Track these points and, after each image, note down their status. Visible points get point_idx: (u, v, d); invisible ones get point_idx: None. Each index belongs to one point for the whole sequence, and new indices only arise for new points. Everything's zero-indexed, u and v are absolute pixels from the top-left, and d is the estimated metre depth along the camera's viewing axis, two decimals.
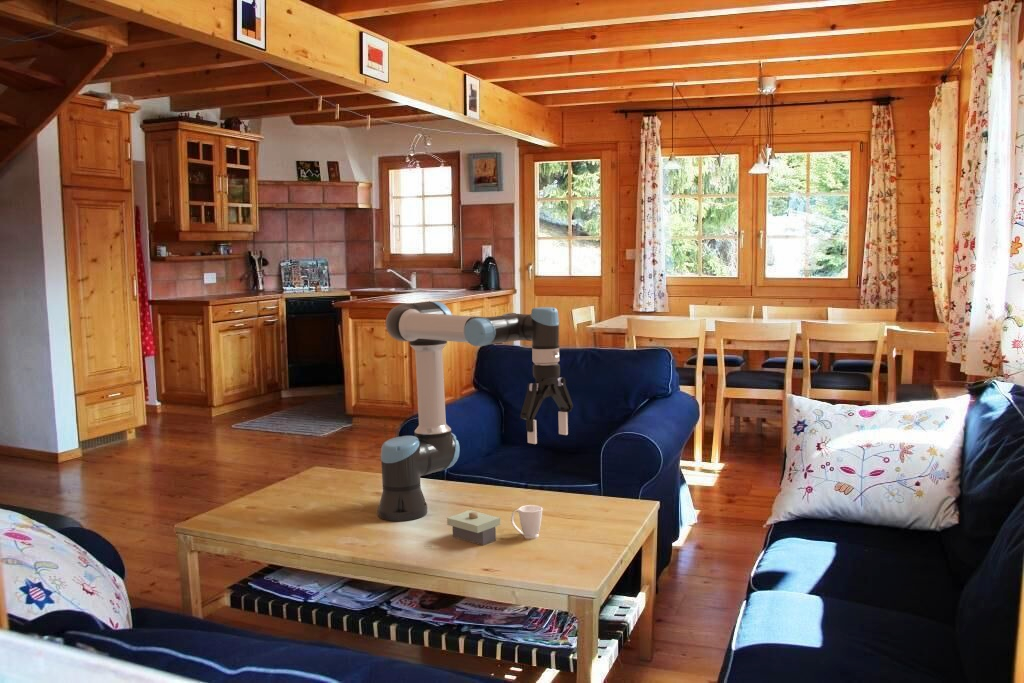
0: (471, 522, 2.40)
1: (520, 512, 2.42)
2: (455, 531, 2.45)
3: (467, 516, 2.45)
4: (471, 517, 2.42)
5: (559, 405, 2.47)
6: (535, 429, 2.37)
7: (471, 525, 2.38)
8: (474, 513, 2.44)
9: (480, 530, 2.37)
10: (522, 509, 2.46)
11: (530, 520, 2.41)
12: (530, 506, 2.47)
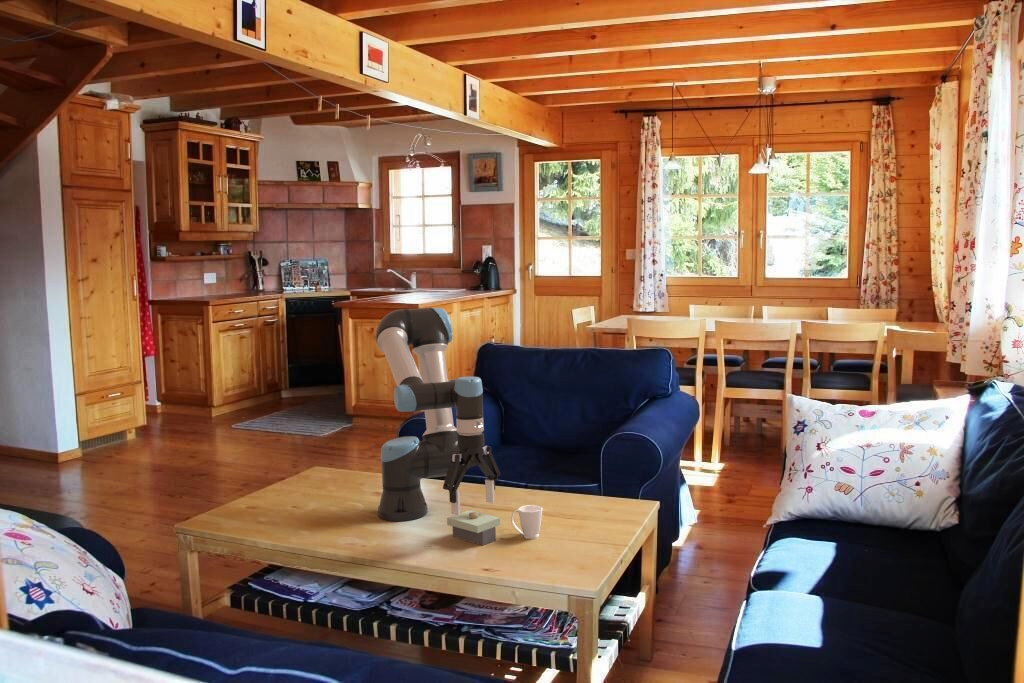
0: (471, 522, 2.40)
1: (520, 512, 2.42)
2: (455, 531, 2.45)
3: (467, 516, 2.45)
4: (471, 517, 2.42)
5: (485, 473, 2.47)
6: (458, 500, 2.36)
7: (471, 525, 2.38)
8: (474, 513, 2.44)
9: (480, 530, 2.37)
10: (522, 509, 2.46)
11: (530, 520, 2.41)
12: (530, 506, 2.47)
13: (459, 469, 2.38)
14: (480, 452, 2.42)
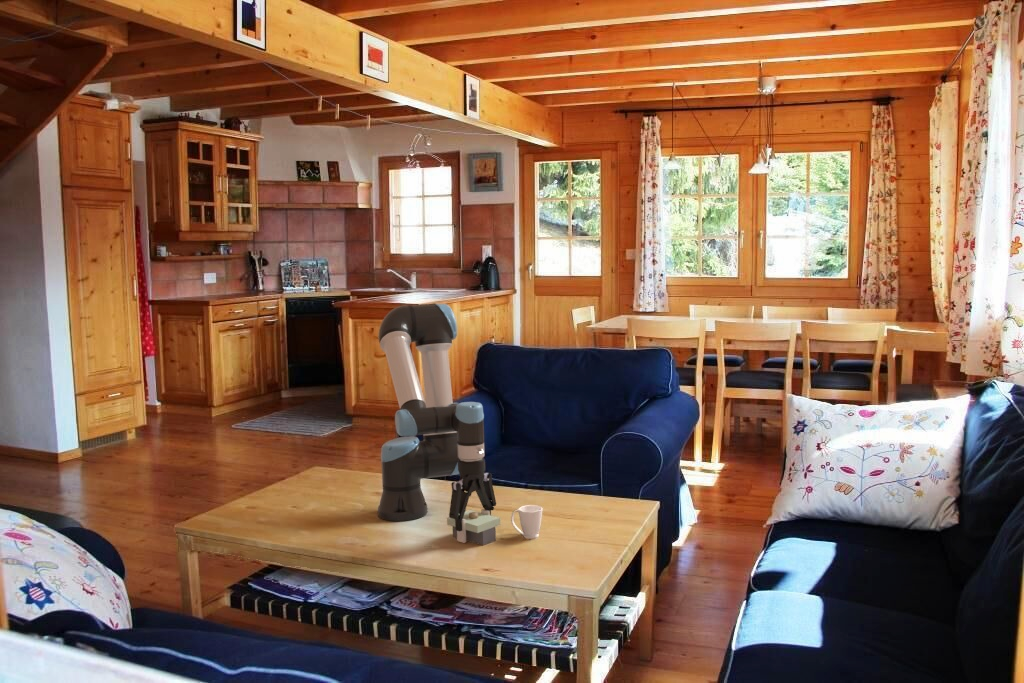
0: (471, 522, 2.40)
1: (520, 512, 2.42)
2: (455, 531, 2.45)
3: (467, 516, 2.45)
4: (471, 517, 2.42)
5: (482, 502, 2.46)
6: (464, 528, 2.39)
7: (471, 525, 2.38)
8: (474, 513, 2.44)
9: (480, 530, 2.37)
10: (522, 509, 2.46)
11: (530, 520, 2.41)
12: (530, 506, 2.47)
13: (462, 496, 2.40)
14: (481, 477, 2.43)
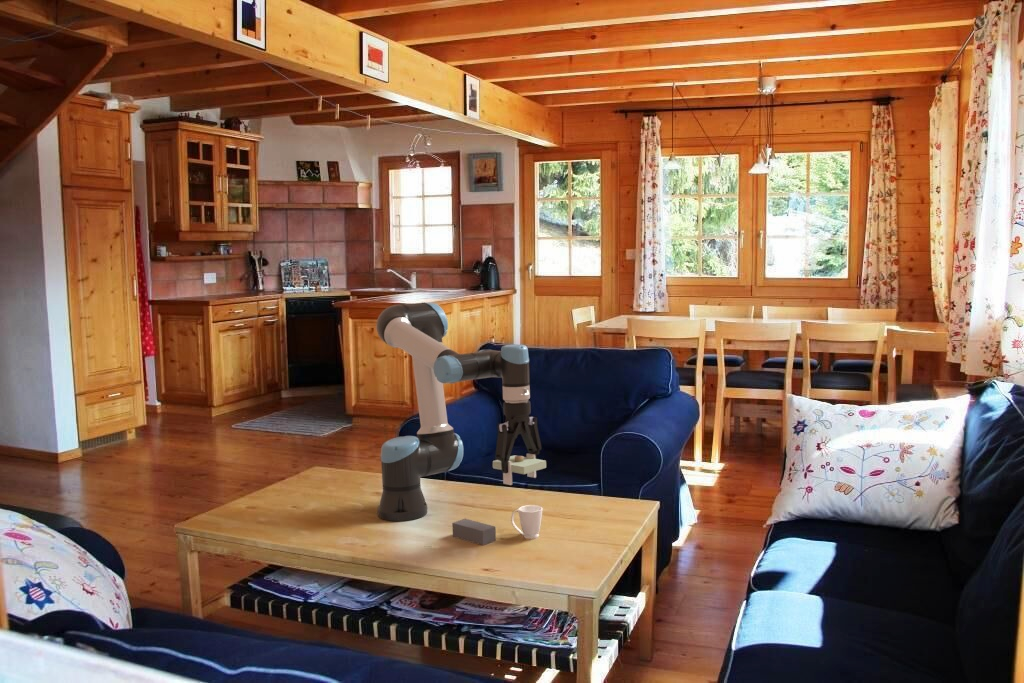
0: (517, 464, 2.39)
1: (520, 512, 2.42)
2: (455, 531, 2.45)
3: (513, 460, 2.44)
4: (517, 460, 2.41)
5: (528, 446, 2.45)
6: (510, 470, 2.38)
7: (517, 467, 2.37)
8: (520, 456, 2.43)
9: (526, 471, 2.36)
10: (522, 509, 2.46)
11: (530, 520, 2.41)
12: (530, 506, 2.47)
13: (508, 438, 2.39)
14: (526, 419, 2.42)
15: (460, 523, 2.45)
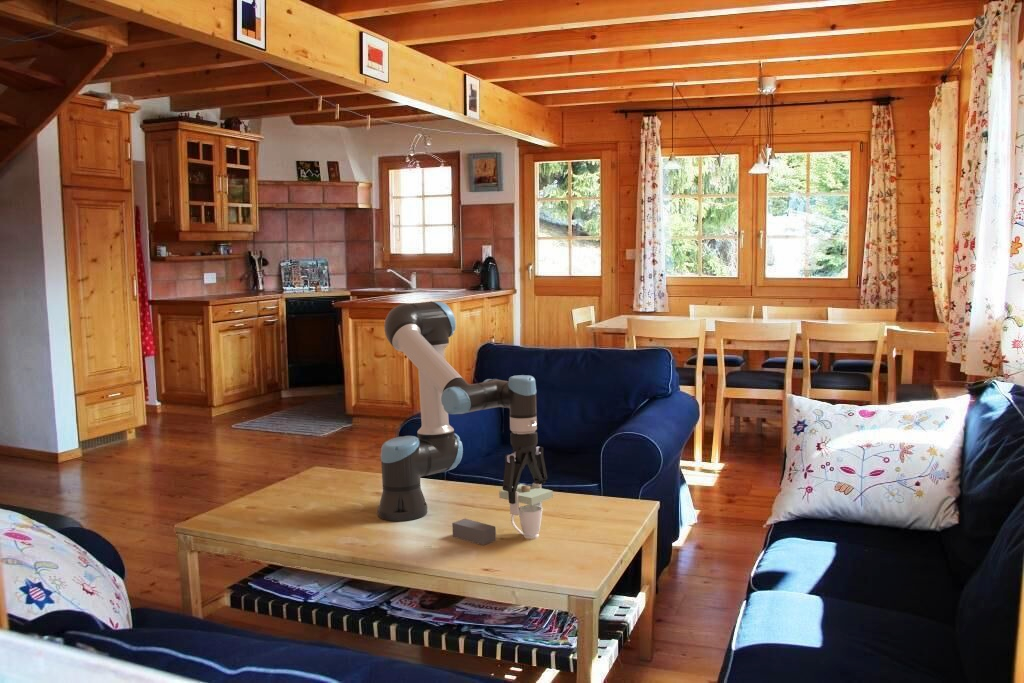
0: (525, 494, 2.40)
1: (520, 512, 2.42)
2: (455, 531, 2.45)
3: (519, 489, 2.45)
4: (524, 490, 2.43)
5: (534, 475, 2.47)
6: (517, 501, 2.40)
7: (525, 498, 2.38)
8: (526, 486, 2.44)
9: (534, 502, 2.38)
10: (522, 509, 2.46)
11: (530, 520, 2.41)
12: (530, 506, 2.47)
13: (515, 469, 2.41)
14: (533, 450, 2.44)
15: (460, 523, 2.45)
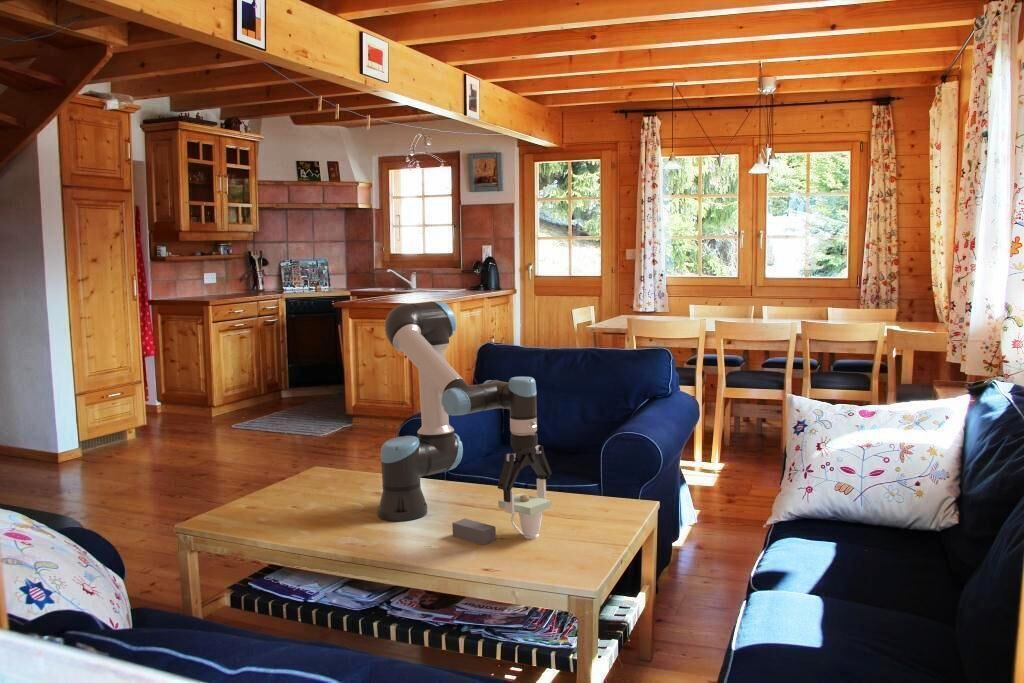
0: (523, 504, 2.41)
1: None
2: (455, 531, 2.45)
3: (518, 499, 2.46)
4: (523, 500, 2.43)
5: (537, 472, 2.48)
6: (512, 499, 2.38)
7: (523, 508, 2.39)
8: (525, 495, 2.45)
9: (533, 512, 2.38)
10: None
11: (530, 520, 2.41)
12: None
13: (513, 468, 2.40)
14: (533, 451, 2.44)
15: (460, 523, 2.45)
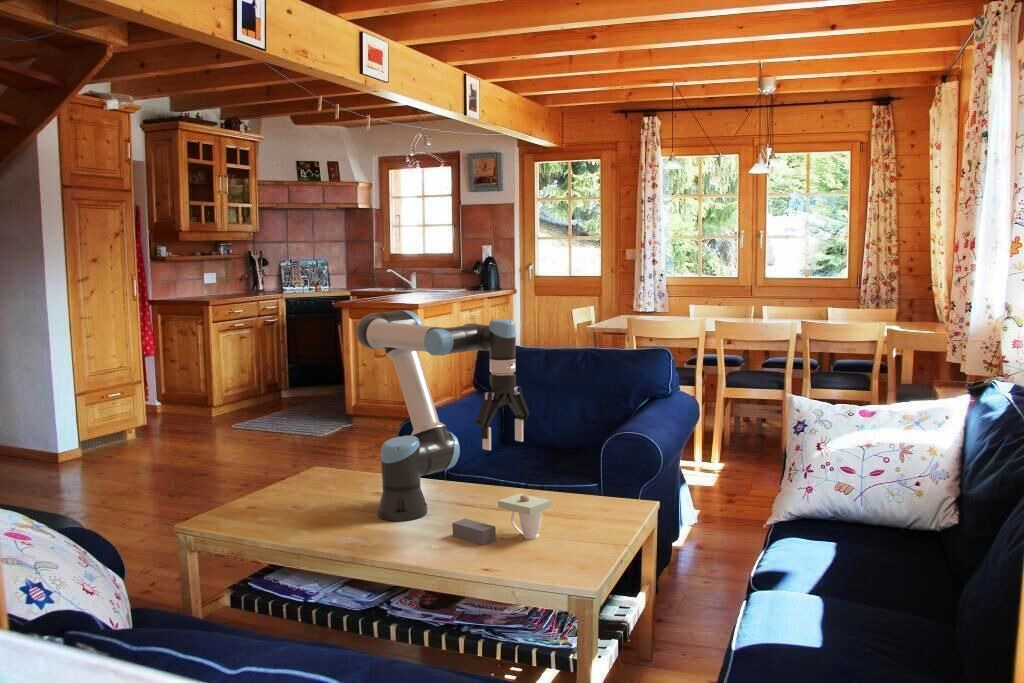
0: (523, 504, 2.41)
1: None
2: (455, 531, 2.45)
3: (518, 499, 2.46)
4: (522, 500, 2.43)
5: (515, 413, 2.57)
6: (489, 436, 2.47)
7: (523, 508, 2.39)
8: (525, 495, 2.45)
9: (532, 512, 2.38)
10: None
11: (530, 520, 2.41)
12: None
13: (491, 407, 2.49)
14: (511, 392, 2.53)
15: (460, 523, 2.45)
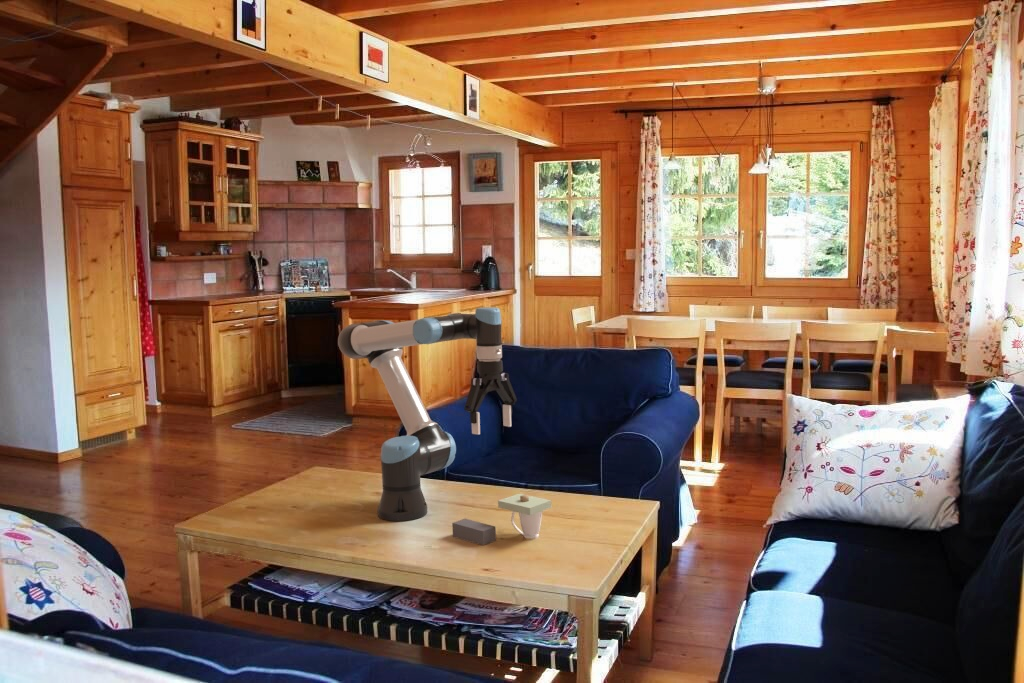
0: (523, 504, 2.41)
1: None
2: (455, 531, 2.45)
3: (518, 499, 2.46)
4: (522, 500, 2.43)
5: (503, 399, 2.64)
6: (478, 421, 2.54)
7: (523, 508, 2.39)
8: (525, 495, 2.45)
9: (532, 512, 2.38)
10: None
11: (530, 520, 2.41)
12: None
13: (479, 393, 2.56)
14: (498, 378, 2.60)
15: (460, 523, 2.45)
